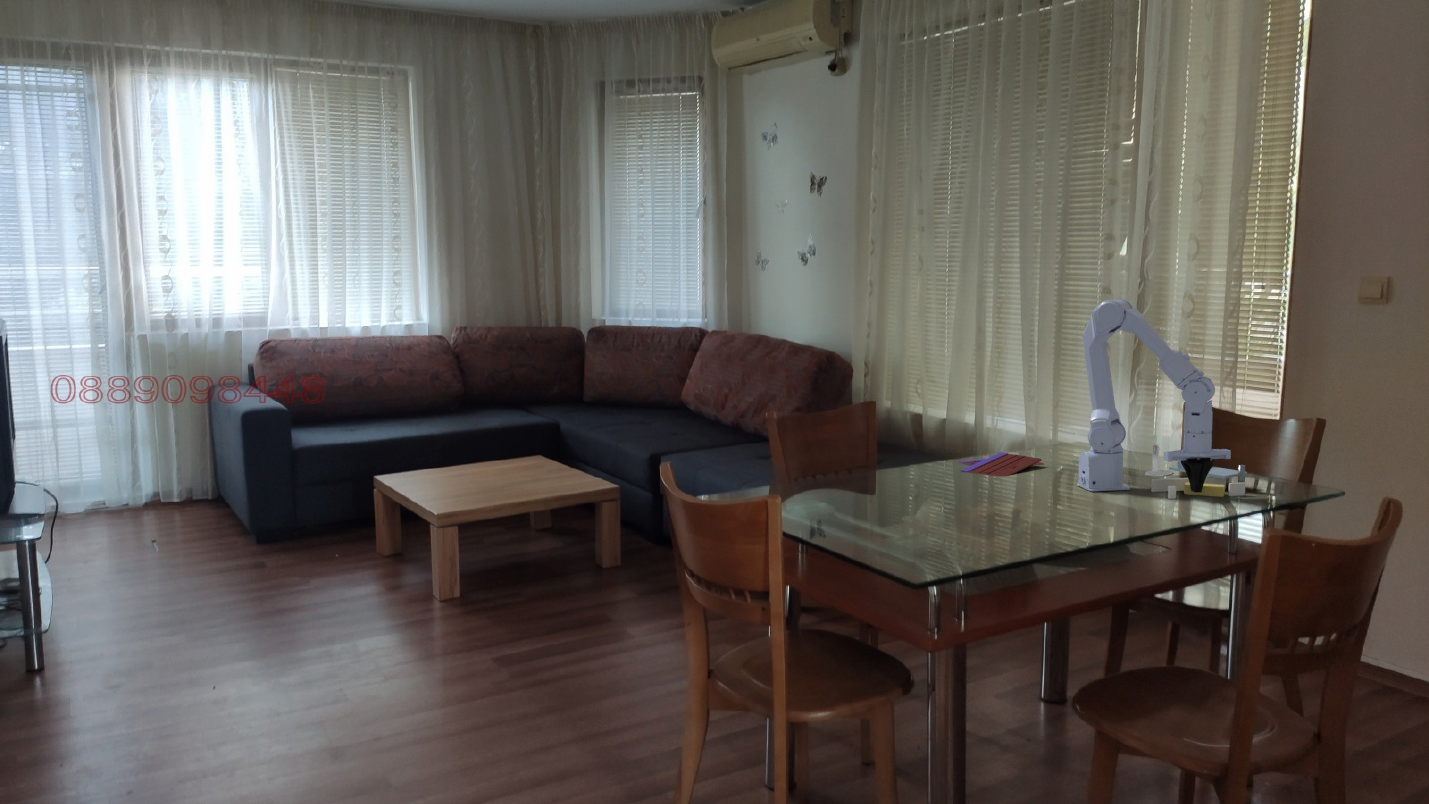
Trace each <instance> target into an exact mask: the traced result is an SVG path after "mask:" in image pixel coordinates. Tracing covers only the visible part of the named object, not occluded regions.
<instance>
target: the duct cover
mask: <svg viewBox="0 0 1429 804" xmlns="http://www.w3.org/2000/svg"><path fill="white" fill-rule="evenodd" d="M1168 470H1170V471H1176V472H1179V473H1180V472H1181V473H1186V471H1185V469H1184V467H1183V466H1182V464H1181V460H1180V461H1177V465H1174V466H1169V467H1168ZM1247 474H1248V471H1245V476H1247ZM1207 477H1217V478H1223V479H1226V480H1227V479H1230V478H1236V477H1238V469H1231V468H1225V467H1224V468H1223V467H1217V466H1213V467H1212V468H1211V470H1210V471H1209V473H1208V475H1207Z"/></svg>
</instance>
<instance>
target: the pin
mask: <svg viewBox="0 0 1429 804" xmlns="http://www.w3.org/2000/svg"><path fill="white" fill-rule="evenodd" d="M1237 471H1238V476H1237V483H1245V484H1246V482H1245V480H1246V477H1245V476H1246V475H1245V472H1246V464H1239V465H1238V466H1237Z"/></svg>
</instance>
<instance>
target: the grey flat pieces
mask: <svg viewBox="0 0 1429 804" xmlns="http://www.w3.org/2000/svg"><path fill="white" fill-rule="evenodd" d="M1186 482H1188V483H1189V479H1188V477H1179V478H1176V477H1175V478H1158V479H1151V492H1152V493H1158V492H1159V493H1160V492H1164V493H1165V492H1167V498H1168V499H1169V500H1172V499H1174V500H1175V499H1176V500H1177V492H1179V491H1180V492H1181V491H1183V492H1184V485H1185V483H1186ZM1204 484H1218V485H1225V490H1226V488H1227V478H1226V479H1223V478H1217V477H1211V476H1207V477H1206V479H1205V482H1204ZM1227 496H1229V497H1238V496H1246V482H1245V483H1238V482H1229V483H1228V494H1227Z"/></svg>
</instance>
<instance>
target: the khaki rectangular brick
mask: <svg viewBox="0 0 1429 804" xmlns="http://www.w3.org/2000/svg"><path fill="white" fill-rule="evenodd" d="M1225 490H1226V489H1225V485H1218V484H1204V485H1203V488H1202V492H1198V493H1195V492H1193V491H1191V488H1190V483H1188V482H1186V483H1185V485H1184V491H1183V492H1184V493H1183V494H1184V495H1193V496H1209V497H1220V498H1221V497H1222V498H1224V496H1225V493H1226V491H1225Z"/></svg>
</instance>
